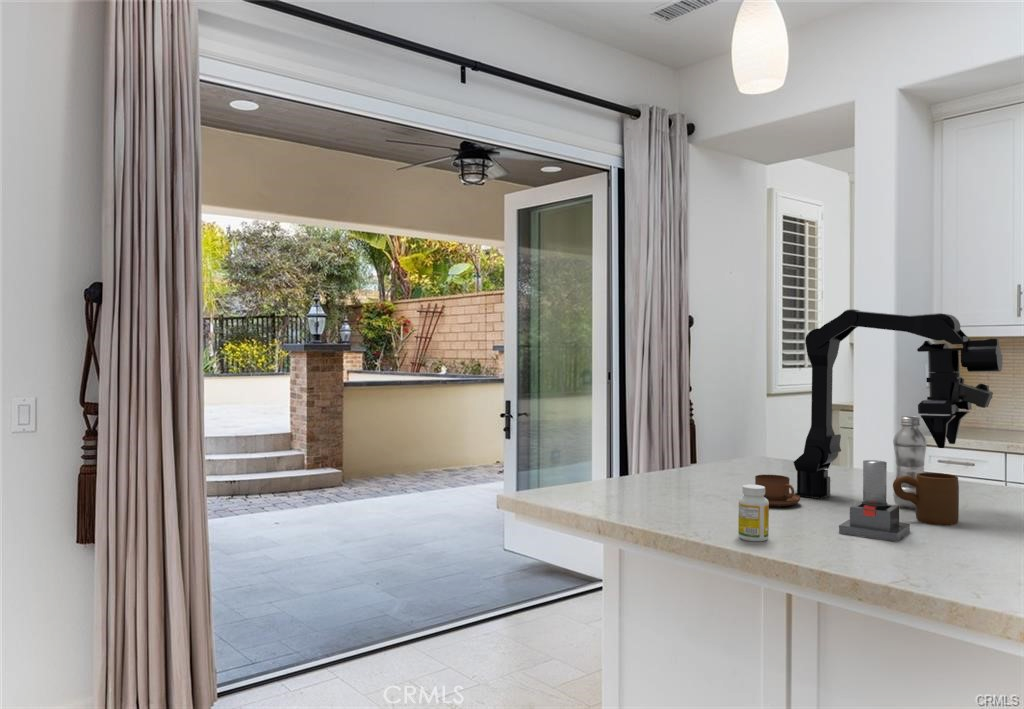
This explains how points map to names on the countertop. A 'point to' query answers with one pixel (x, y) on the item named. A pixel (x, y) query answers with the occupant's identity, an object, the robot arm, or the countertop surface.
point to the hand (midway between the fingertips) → (946, 445)
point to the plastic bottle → (909, 455)
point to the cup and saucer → (777, 490)
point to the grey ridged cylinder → (874, 483)
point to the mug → (932, 497)
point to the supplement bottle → (753, 514)
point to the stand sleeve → (875, 523)
